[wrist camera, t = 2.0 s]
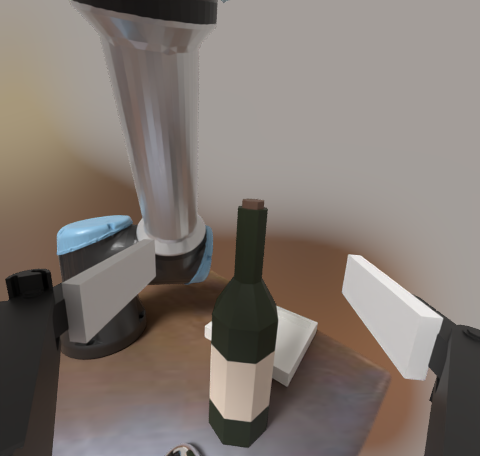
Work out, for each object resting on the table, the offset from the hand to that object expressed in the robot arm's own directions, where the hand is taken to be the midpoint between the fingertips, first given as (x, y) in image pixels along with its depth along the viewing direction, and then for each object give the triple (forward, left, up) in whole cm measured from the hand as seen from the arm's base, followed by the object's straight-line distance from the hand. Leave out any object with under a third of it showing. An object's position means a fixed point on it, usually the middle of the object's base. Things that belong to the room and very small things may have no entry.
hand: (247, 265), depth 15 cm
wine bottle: (-5, +9, -27) cm, 29 cm away
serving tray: (-10, +25, -27) cm, 38 cm away
